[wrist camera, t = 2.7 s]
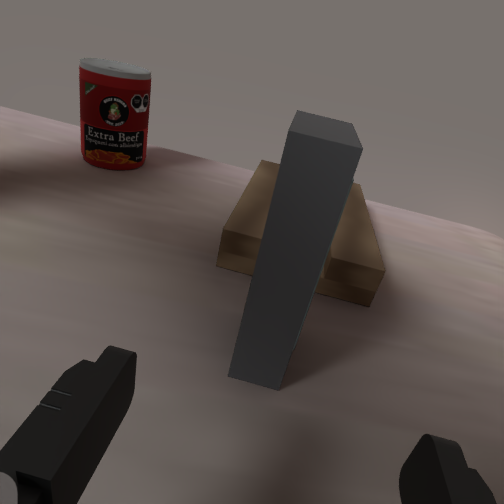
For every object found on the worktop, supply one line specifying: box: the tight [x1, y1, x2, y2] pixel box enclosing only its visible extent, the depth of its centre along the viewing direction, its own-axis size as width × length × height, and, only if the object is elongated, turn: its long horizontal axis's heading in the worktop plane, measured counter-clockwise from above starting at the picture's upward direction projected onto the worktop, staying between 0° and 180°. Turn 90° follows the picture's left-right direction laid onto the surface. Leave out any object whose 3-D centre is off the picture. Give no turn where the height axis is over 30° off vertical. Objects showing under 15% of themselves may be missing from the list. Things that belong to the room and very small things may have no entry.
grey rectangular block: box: [228, 110, 363, 390], centre depth 21 cm, size 3×6×14 cm, turn 170°
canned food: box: [79, 58, 151, 170], centre depth 45 cm, size 8×8×11 cm
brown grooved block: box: [216, 160, 385, 307], centre depth 40 cm, size 13×22×4 cm, turn 170°
